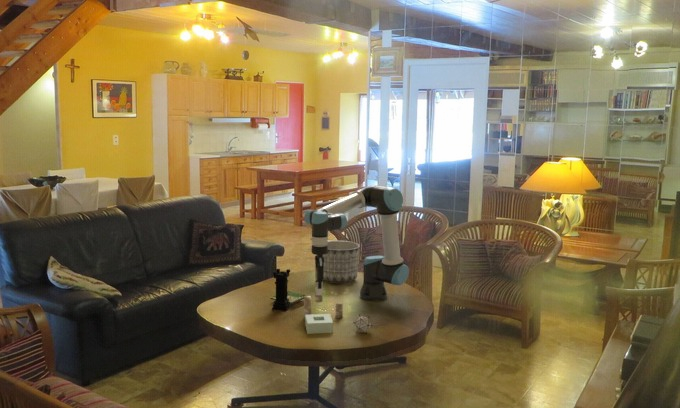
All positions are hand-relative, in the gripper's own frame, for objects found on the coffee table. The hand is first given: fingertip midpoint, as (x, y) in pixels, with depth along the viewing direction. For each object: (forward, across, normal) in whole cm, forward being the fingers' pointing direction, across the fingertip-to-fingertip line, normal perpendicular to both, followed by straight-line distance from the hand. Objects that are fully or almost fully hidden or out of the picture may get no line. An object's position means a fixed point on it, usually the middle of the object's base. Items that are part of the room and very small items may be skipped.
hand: (318, 293), depth 279 cm
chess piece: (+18, -32, -16) cm, 40 cm away
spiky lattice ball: (+18, +7, +20) cm, 28 cm away
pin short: (+17, -15, +12) cm, 26 cm away
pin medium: (+17, -15, -4) cm, 23 cm away
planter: (+17, -80, +21) cm, 85 cm away
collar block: (+17, 0, 0) cm, 17 cm away
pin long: (+4, 0, 0) cm, 4 cm away
